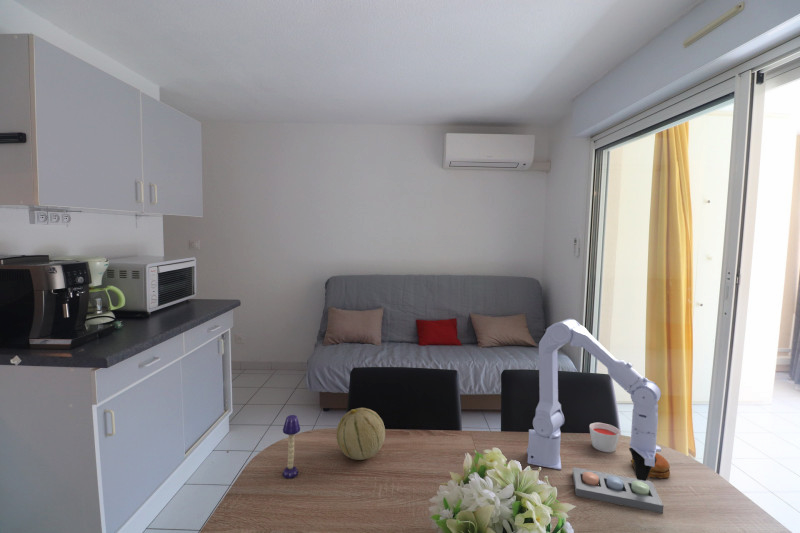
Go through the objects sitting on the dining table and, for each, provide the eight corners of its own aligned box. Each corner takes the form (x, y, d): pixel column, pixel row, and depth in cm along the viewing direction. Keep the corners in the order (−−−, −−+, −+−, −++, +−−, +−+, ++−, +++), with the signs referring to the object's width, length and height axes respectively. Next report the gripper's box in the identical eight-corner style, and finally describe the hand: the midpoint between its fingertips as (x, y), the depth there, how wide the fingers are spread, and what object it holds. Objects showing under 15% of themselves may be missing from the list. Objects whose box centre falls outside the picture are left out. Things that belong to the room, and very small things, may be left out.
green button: (633, 495, 107) (633, 487, 107) (629, 486, 111) (630, 479, 111) (650, 498, 106) (650, 491, 106) (646, 489, 110) (647, 482, 110)
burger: (677, 477, 119) (678, 461, 118) (653, 482, 116) (654, 466, 115) (646, 459, 128) (647, 445, 128) (623, 464, 125) (624, 449, 125)
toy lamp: (303, 472, 115) (303, 415, 114) (292, 481, 111) (292, 421, 110) (289, 468, 117) (290, 411, 116) (278, 476, 113) (278, 418, 112)
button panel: (576, 495, 108) (576, 488, 108) (572, 473, 119) (572, 466, 119) (662, 513, 102) (663, 505, 102) (651, 488, 113) (651, 481, 112)
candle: (624, 455, 130) (625, 435, 130) (596, 454, 130) (597, 434, 130) (610, 441, 139) (611, 423, 139) (583, 440, 139) (584, 422, 139)
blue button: (607, 490, 109) (608, 483, 109) (605, 482, 113) (605, 475, 113) (624, 493, 108) (624, 486, 108) (621, 485, 112) (621, 478, 112)
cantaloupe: (393, 460, 123) (395, 412, 122) (350, 475, 115) (351, 423, 114) (369, 440, 135) (370, 395, 134) (327, 452, 127) (328, 404, 126)
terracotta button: (583, 485, 111) (583, 478, 111) (581, 477, 115) (581, 470, 115) (599, 488, 110) (599, 481, 110) (597, 480, 114) (597, 473, 113)
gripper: (670, 444, 99) (666, 498, 100) (654, 419, 113) (651, 467, 114) (637, 439, 101) (634, 492, 102) (625, 415, 115) (622, 462, 116)
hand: (641, 478), depth 108 cm, fingers closed
